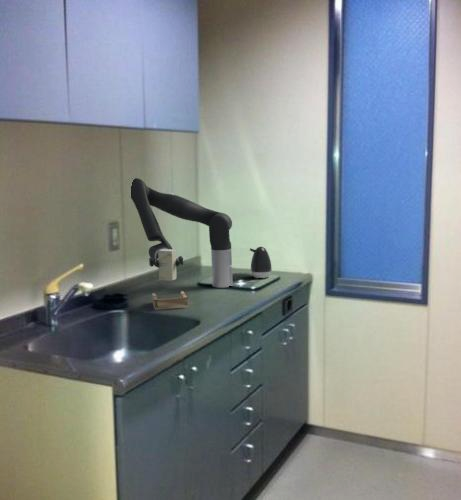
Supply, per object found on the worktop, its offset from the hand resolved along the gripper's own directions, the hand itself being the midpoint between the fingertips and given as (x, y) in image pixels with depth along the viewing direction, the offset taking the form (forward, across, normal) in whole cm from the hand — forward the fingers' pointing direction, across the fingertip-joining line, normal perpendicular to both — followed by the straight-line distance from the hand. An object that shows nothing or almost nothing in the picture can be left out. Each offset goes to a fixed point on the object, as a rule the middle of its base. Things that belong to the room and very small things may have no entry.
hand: (168, 264), depth 254 cm
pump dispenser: (-43, +49, +18) cm, 68 cm away
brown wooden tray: (-2, 0, +17) cm, 17 cm away
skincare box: (-2, 0, +7) cm, 7 cm away
